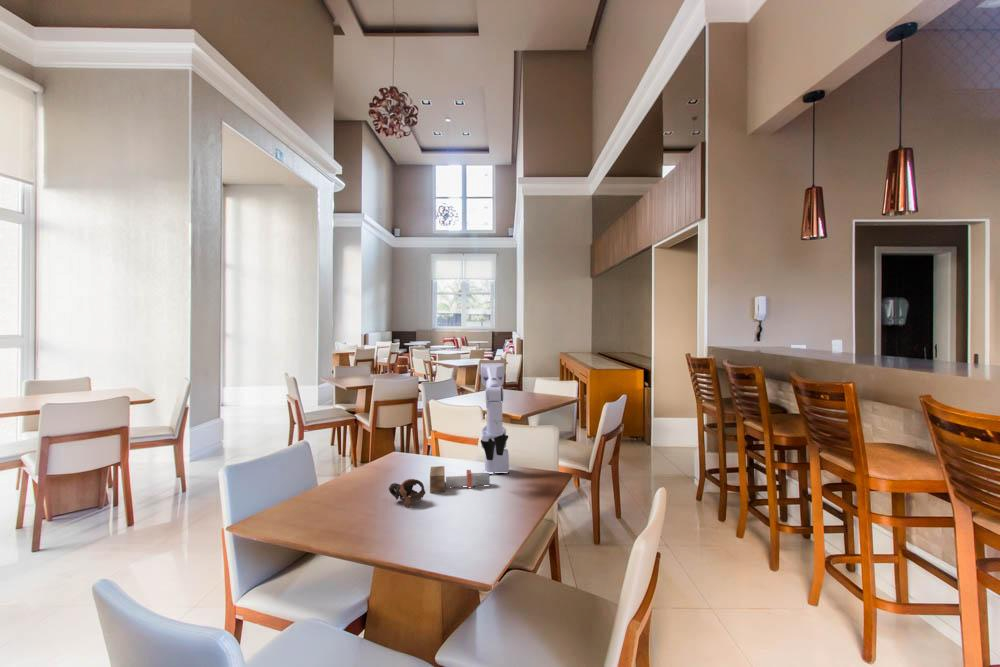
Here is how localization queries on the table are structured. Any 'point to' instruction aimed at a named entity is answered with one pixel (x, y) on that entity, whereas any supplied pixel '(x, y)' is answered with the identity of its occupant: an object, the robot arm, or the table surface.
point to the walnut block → (437, 479)
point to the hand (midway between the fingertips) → (494, 457)
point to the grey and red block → (468, 480)
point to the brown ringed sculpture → (407, 491)
